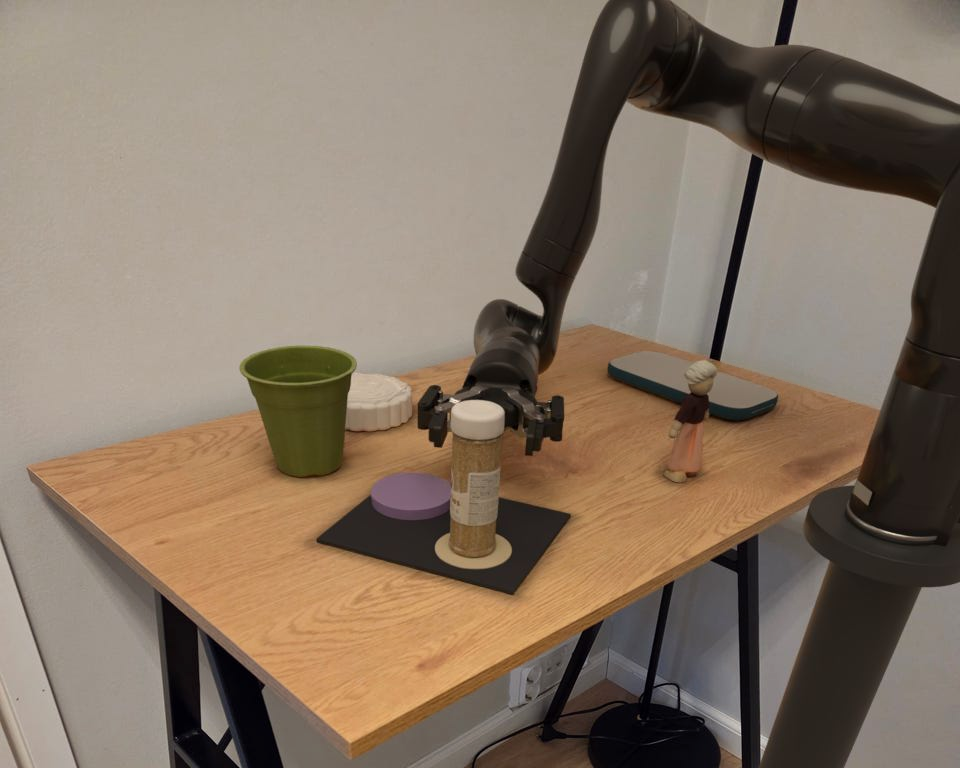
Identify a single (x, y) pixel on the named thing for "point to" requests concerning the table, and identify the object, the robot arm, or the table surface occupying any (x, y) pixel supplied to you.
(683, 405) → the grandmother figurine
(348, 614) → the table surface
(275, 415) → the plant pot
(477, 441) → the spice jar
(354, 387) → the mooncake
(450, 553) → the table mat
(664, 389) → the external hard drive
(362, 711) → the table surface
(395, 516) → the lilac disc
